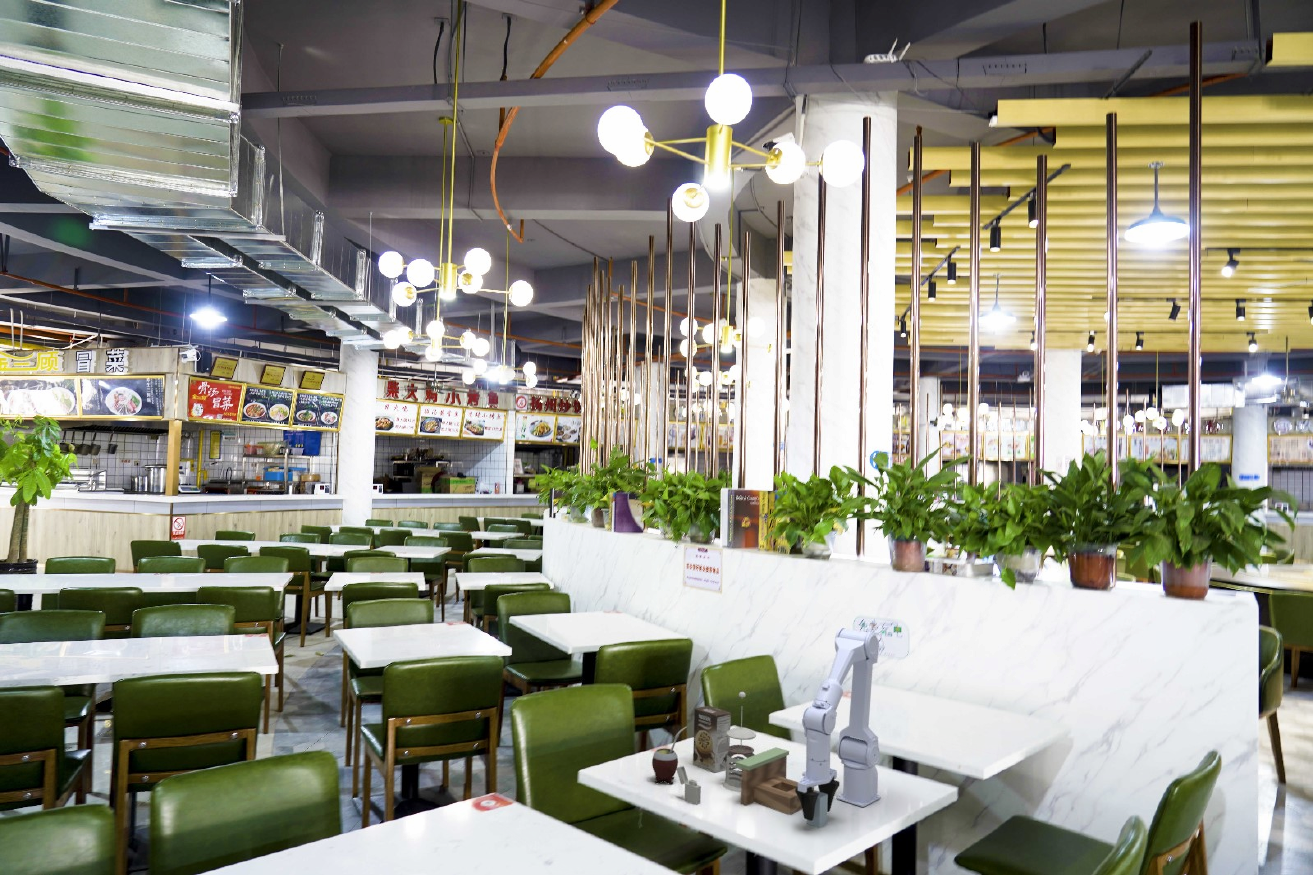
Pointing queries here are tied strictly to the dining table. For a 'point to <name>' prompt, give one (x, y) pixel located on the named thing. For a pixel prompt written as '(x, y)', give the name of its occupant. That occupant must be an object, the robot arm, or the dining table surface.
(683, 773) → the lighter
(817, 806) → the peg
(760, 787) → the socket holder
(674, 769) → the mate gourd
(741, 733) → the french press
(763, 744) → the dining table surface
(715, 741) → the coffee box
